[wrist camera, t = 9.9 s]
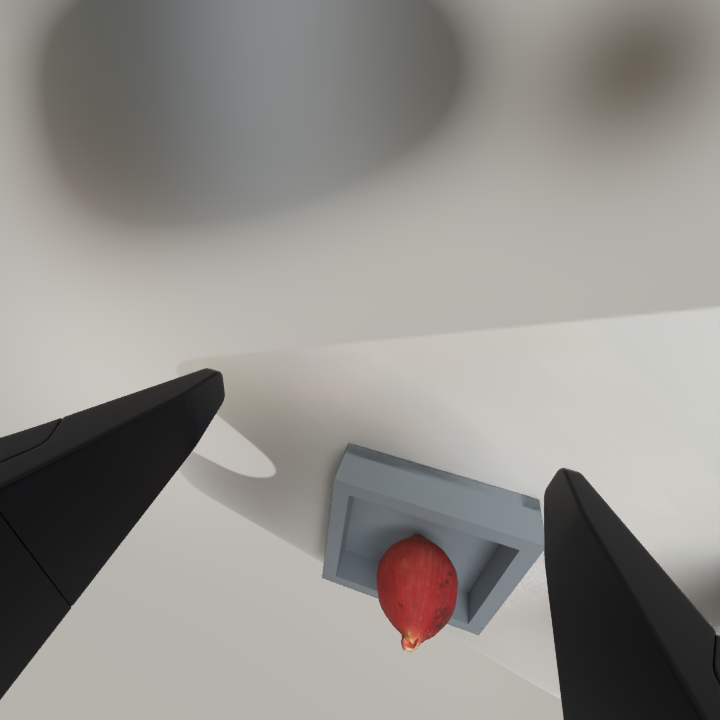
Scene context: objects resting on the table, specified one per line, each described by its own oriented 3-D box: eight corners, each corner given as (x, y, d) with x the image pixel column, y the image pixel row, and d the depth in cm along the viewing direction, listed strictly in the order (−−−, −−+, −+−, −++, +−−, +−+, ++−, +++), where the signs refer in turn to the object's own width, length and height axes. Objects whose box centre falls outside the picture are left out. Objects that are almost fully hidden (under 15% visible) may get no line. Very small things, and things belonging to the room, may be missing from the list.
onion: (458, 517, 27) (463, 637, 20) (454, 563, 30) (457, 683, 23) (382, 508, 29) (362, 619, 22) (385, 553, 31) (369, 664, 24)
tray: (539, 499, 25) (546, 546, 22) (478, 591, 33) (478, 635, 30) (349, 443, 27) (333, 479, 25) (334, 542, 35) (322, 577, 32)
